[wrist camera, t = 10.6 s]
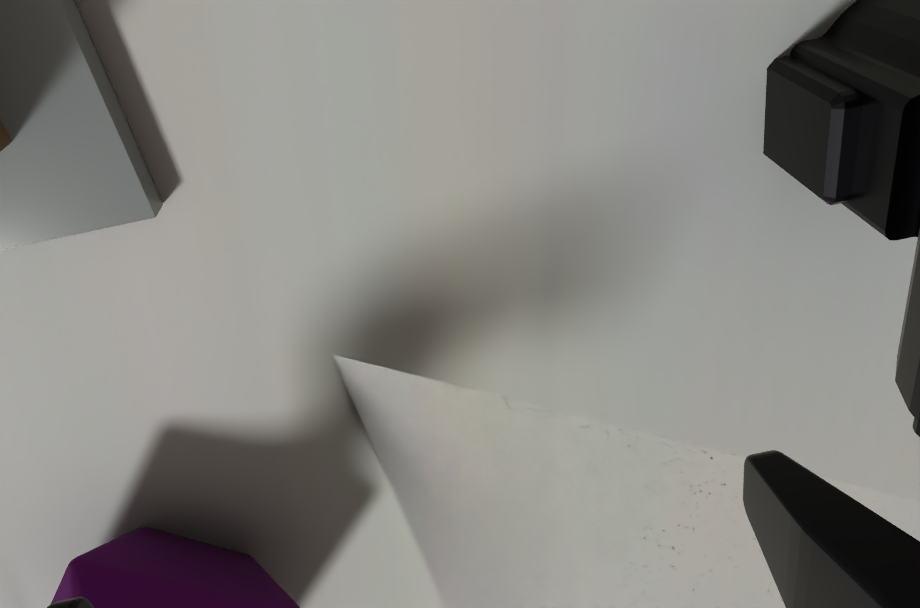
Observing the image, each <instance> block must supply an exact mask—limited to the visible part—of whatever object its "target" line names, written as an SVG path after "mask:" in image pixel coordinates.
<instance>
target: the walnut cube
mask: <svg viewBox="0 0 920 608" xmlns="http://www.w3.org/2000/svg"><path fill="white" fill-rule="evenodd" d="M11 142H12V140H11V138H10V136H9V134H8V132H7V130H6V129H5V127H4V125H3V123H2V121H1V119H0V152H1V151H2V150H3V149H4V148H5V147H7V146H8V145H9V144H10V143H11Z"/></svg>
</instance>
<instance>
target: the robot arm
mask: <svg viewBox="0 0 920 608" xmlns="http://www.w3.org/2000/svg"><path fill="white" fill-rule="evenodd" d="M763 154H765V155H766V156H767V157H768V158H770V159H771V160H772V161H774V162H775V163H776V164H777V165H779V166H780V167H781V168H783V169H784V170H785V171H786V172H788V173H789V174H790V175H791V176H793V177H794V178H795V179H797V180H798V181H799V182H800V183H802V184H803V185H804V186H805V187H807V188H808V189H809V190H811V191H812V192H813V193H814V194H816V195H817V196H818V197H820V198H821V199H822V200H823V201H825V202H826V203H827V204H830V205H834V204H839V203H842V204H843V205H844V206H846V207H847V208H848V209H850V210H851V211H852V212H854V213H855V214H856V215H858V216H859V217H860V218H862V219H863V220H864V221H865V222H867V223H868V224H869V225H871V226H872V227H873V228H875V229H876V230H877V231H879V232H880V233H881V234H883V235H884V236H885V237H887V238H888V239H889V240H900V239H905V238H909V237H918V241H917V246H916V252H915V258H914V264H913V269H912V275H911V281H910V286H909V292H908V298H907V304H906V309H905V315H904V321H903V326H902V332H901V338H900V343H899V349H898V355H897V367H896V378H895V382H896V384H897V386H898V388H899V390H900V392H901V394H902V396H903V399H904V401H905V403H906V405H907V407H908V409H909V411H910V412H911V414H912V415H913V416H914V422H913V429H914V431H915V433H916V434H917V435H918V436H919V437H920V0H857V1H856V2H855V3H854V4H852V5H851V6H850V7H849V8H848V9H847V10H846V11H845V12H844V13H843V14H841V15H840V17H839V18H838V19H837V20H836V21H835V22H834V24H833V25H832V26H831V27H830V28H829V29H828V31H827V32H826V33H825V34H824V35H823V36H821V37H819V38H816V39H812V40H807V41H802V42H800V43H798V44H796V45H795V47H794V48H793V49H792V51H791V54H790V56H786V57H781V58H776V59H774V61H773V62H772V63H771V64H770V65H769V67H768V68H767V85H766V107H765V130H764V152H763ZM743 502H744V507H745V510H746V514H747V516H748V519H749V521H750V523H751V526H752V528H753V531H754V533H755V535H756V538H757V540H758V542H759V545H760V547H761V550H762V552H763V554H764V557H765V559H766V561H767V564H768V566H769V568H770V571H771V573H772V576H773V578H774V580H775V583H776V585H777V587H778V590H779V592H780V595H781V597H782V599H783V602H784V604H785V606H786V608H920V542H919V541H918V540H916V539H915V538H913V537H912V536H910V535H909V534H907V533H905V532H904V531H902V530H901V529H899V528H898V527H896V526H895V525H893V524H892V523H890V522H888V521H887V520H885V519H884V518H882V517H881V516H879V515H878V514H876V513H874V512H873V511H871V510H870V509H868V508H867V507H865V506H864V505H862V504H860V503H859V502H857V501H856V500H854V499H853V498H851V497H850V496H848V495H847V494H845V493H843V492H842V491H840V490H839V489H837V488H836V487H834V486H833V485H831V484H829V483H828V482H826V481H825V480H823V479H822V478H820V477H819V476H817V475H816V474H814V473H812V472H811V471H809V470H808V469H806V468H805V467H803V466H802V465H800V464H798V463H797V462H795V461H794V460H792V459H791V458H789V457H788V456H786V455H784V454H783V453H781V452H779V451H775V450H772V451H766V452H762V453H757V454H752V455H749V456H748V457H747V458H746V460H745V463H744V485H743ZM47 608H94V607H93V605H92V604H91V603H90V601H89V600H88V599H86V598H84V597H76V598H71V599H66V600H61V601H57V602H54V603H52V604H51V605H49V606H48V607H47Z"/></svg>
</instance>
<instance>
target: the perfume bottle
mask: <svg viewBox="0 0 920 608" xmlns="http://www.w3.org/2000/svg"><path fill="white" fill-rule="evenodd" d="M76 597H84V598H86V599H88V600H89V601H90V603H91V604H92V605H93V607H94V608H300V607H299V606H298V605H297V604H296V603H295V602H294V601H293V600H292V599H291V598H290V596H289V595H288V594H287V593H286V592H285V591H284V590H283V589H282V588H281V587H280V586H279V585H278V584H277V583H276V582H275V581H274V580H273V579H272V577H271V576H270V575H269V574H268V573H267V572H266V571H265V570H264V569H263V568H262V567H261V566H260V565H259V564H258V563H257V562H256V561H255V560H254V558H252V557H251V556H249V555H245V554H242V553H238V552H234V551H230V550H227V549H223V548H219V547H216V546H212V545H208V544H204V543H201V542H197V541H193V540H190V539H186V538H182V537H178V536H175V535H171V534H167V533H164V532H160V531H156V530H153V529H149V528H138V529H136V530H134V531H131V532H129V533H127V534H125V535H123V536H121V537H119V538H116V539H114V540H112V541H110V542H108V543H106V544H104V545H102V546H99V547H97V548H95V549H93V550H91V551H89V552H87V553H84V554H82V555H80V556H78V557H76V558H75V559H73V560H72V561H71V562H70V563H69V565H68V567H67V569H66V571H65V574H64V576H63V578H62V580H61V583H60V585H59V587H58V589H57V592H56V594H55V596H54V598H53V600H52V603H54V602H57V601H61V600H66V599H71V598H76ZM52 603H51V604H52Z"/></svg>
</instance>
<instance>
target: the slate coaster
mask: <svg viewBox="0 0 920 608" xmlns="http://www.w3.org/2000/svg"><path fill="white" fill-rule="evenodd" d="M0 119H1V121H2V123H3V125H4V127H5V129H6V130H7V132H8V134H9V136H10V138H11V140H12V142H11V143H10V144H9V145H8V146H7V147H5V148H4V149H3V150H2V151H1V152H0V250H4V249H8V248H13V247H18V246H23V245H27V244H32V243H37V242H41V241H46V240H51V239H56V238H60V237H65V236H70V235H74V234H79V233H84V232H89V231H93V230H98V229H103V228H108V227H112V226H117V225H122V224H126V223H131V222H136V221H141V220H145V219H150V218H155V217H156V216H157V214H158V212H159V210H160V209H161V207H162V205H163V204H162V201H161V199H160V197H159V194H158V192H157V190H156V188H155V185H154V183H153V181H152V178H151V176H150V174H149V171H148V169H147V167H146V165H145V162H144V160H143V158H142V155H141V153H140V151H139V148H138V146H137V144H136V142H135V139H134V137H133V135H132V132H131V130H130V128H129V125H128V123H127V121H126V119H125V116H124V114H123V112H122V109H121V107H120V105H119V102H118V100H117V98H116V96H115V93H114V91H113V89H112V86H111V84H110V82H109V79H108V77H107V75H106V72H105V70H104V68H103V66H102V63H101V61H100V59H99V56H98V54H97V52H96V49H95V47H94V45H93V43H92V40H91V38H90V36H89V33H88V31H87V29H86V26H85V24H84V22H83V20H82V17H81V15H80V13H79V10H78V8H77V6H76V3H75V1H74V0H0Z"/></svg>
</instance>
